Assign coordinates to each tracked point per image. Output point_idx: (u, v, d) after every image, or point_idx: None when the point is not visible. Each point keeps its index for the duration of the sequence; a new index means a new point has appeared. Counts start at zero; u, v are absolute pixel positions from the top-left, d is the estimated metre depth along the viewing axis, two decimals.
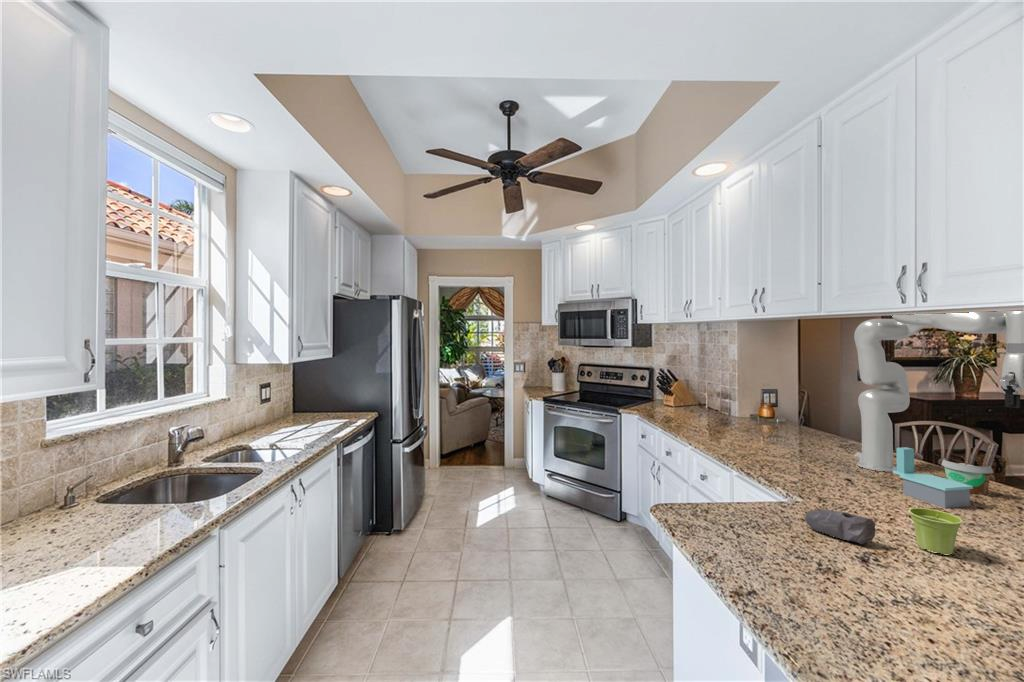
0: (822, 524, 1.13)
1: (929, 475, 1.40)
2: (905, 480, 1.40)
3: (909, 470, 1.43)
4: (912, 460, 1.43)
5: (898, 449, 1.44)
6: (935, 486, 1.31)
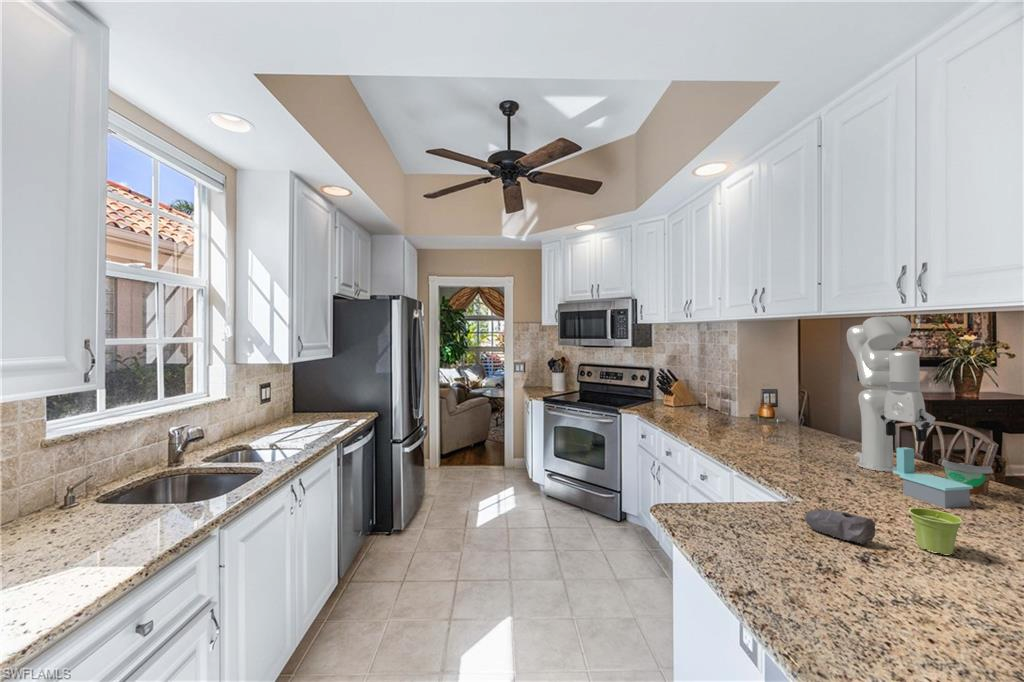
0: (822, 524, 1.13)
1: (929, 475, 1.40)
2: (905, 480, 1.40)
3: (909, 470, 1.43)
4: (912, 460, 1.43)
5: (898, 449, 1.44)
6: (935, 486, 1.31)
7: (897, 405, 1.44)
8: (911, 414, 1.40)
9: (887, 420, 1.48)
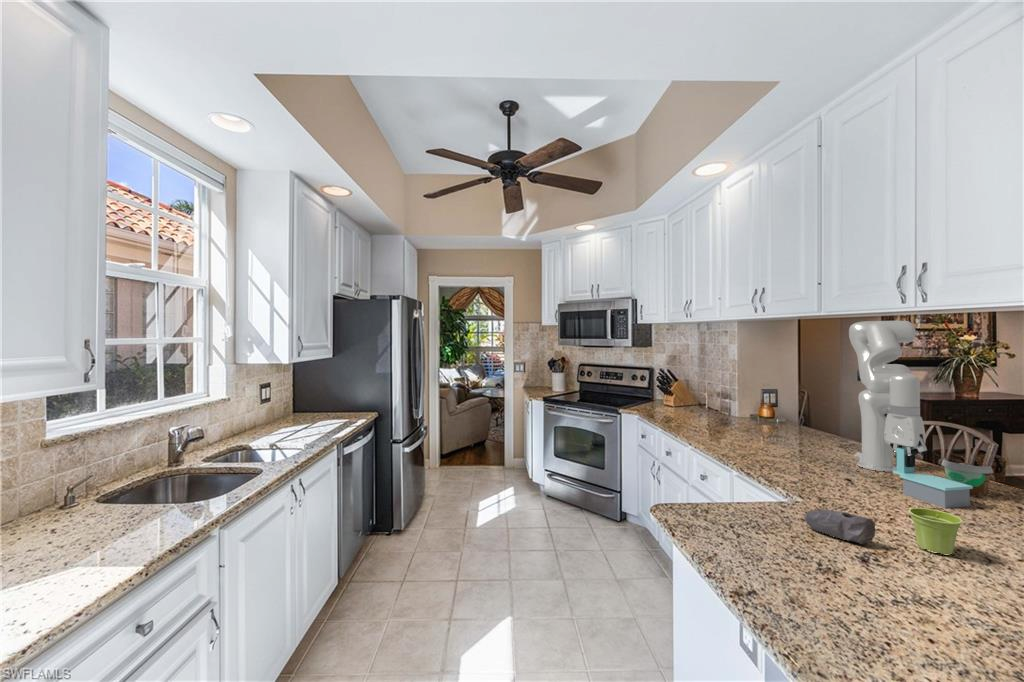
0: (822, 524, 1.13)
1: (929, 475, 1.40)
2: (905, 480, 1.40)
3: (909, 470, 1.43)
4: None
5: (898, 449, 1.44)
6: (935, 486, 1.31)
7: (897, 429, 1.44)
8: (911, 439, 1.40)
9: None
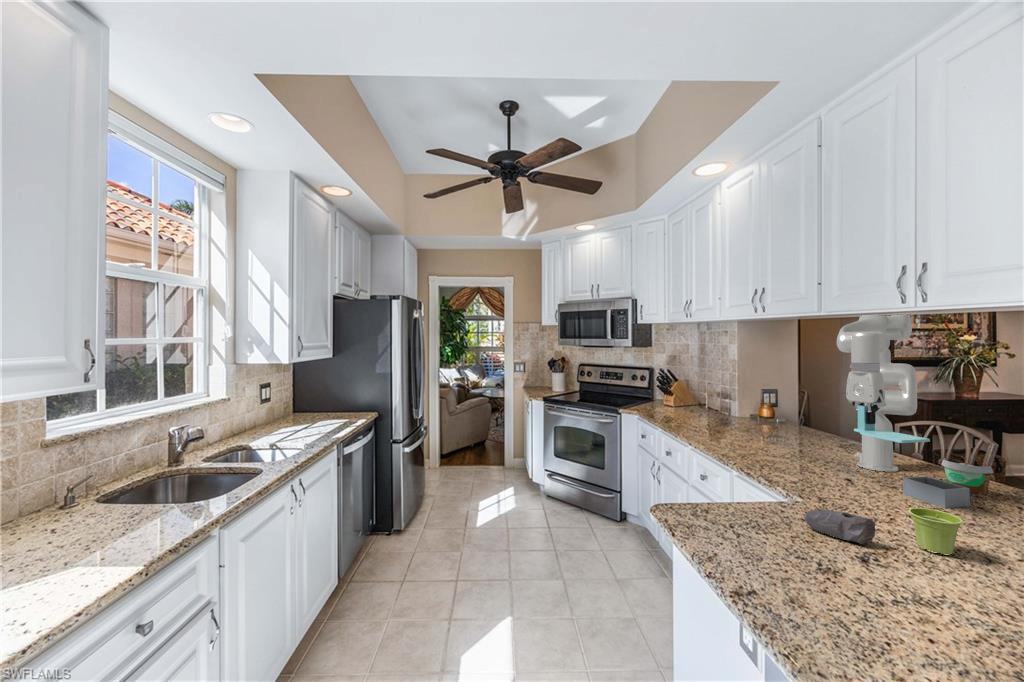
0: (822, 524, 1.13)
1: (889, 431, 1.39)
2: (905, 480, 1.40)
3: (870, 427, 1.42)
4: None
5: (859, 406, 1.43)
6: (892, 439, 1.30)
7: (858, 386, 1.43)
8: (870, 395, 1.39)
9: None
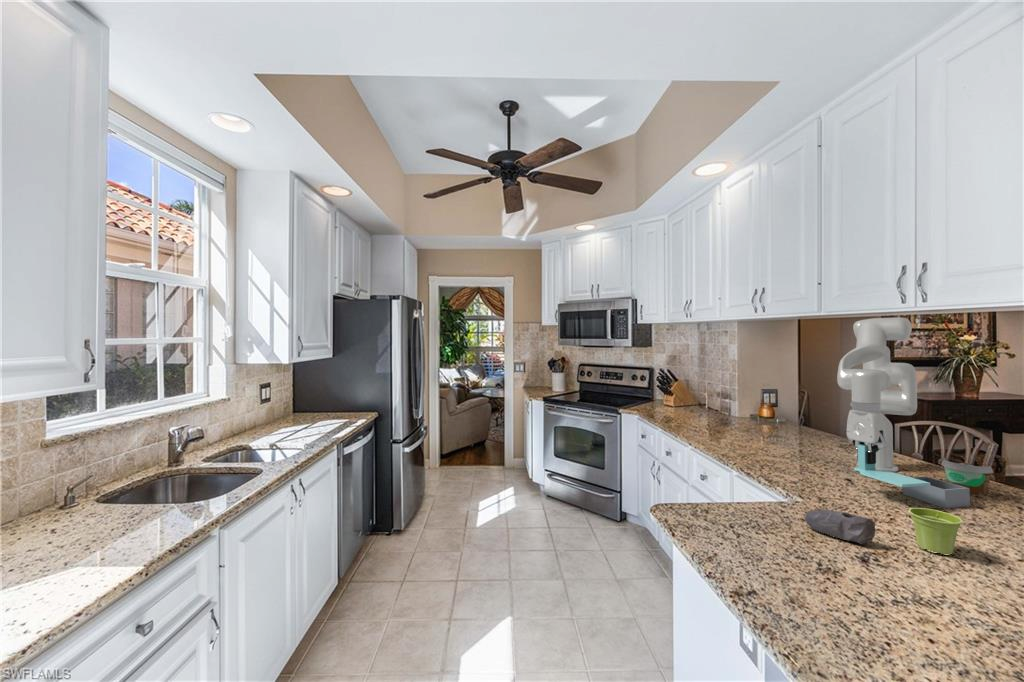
0: (822, 524, 1.13)
1: (889, 472, 1.39)
2: None
3: (870, 467, 1.42)
4: None
5: (859, 446, 1.43)
6: (892, 482, 1.30)
7: (858, 426, 1.43)
8: (871, 435, 1.39)
9: None
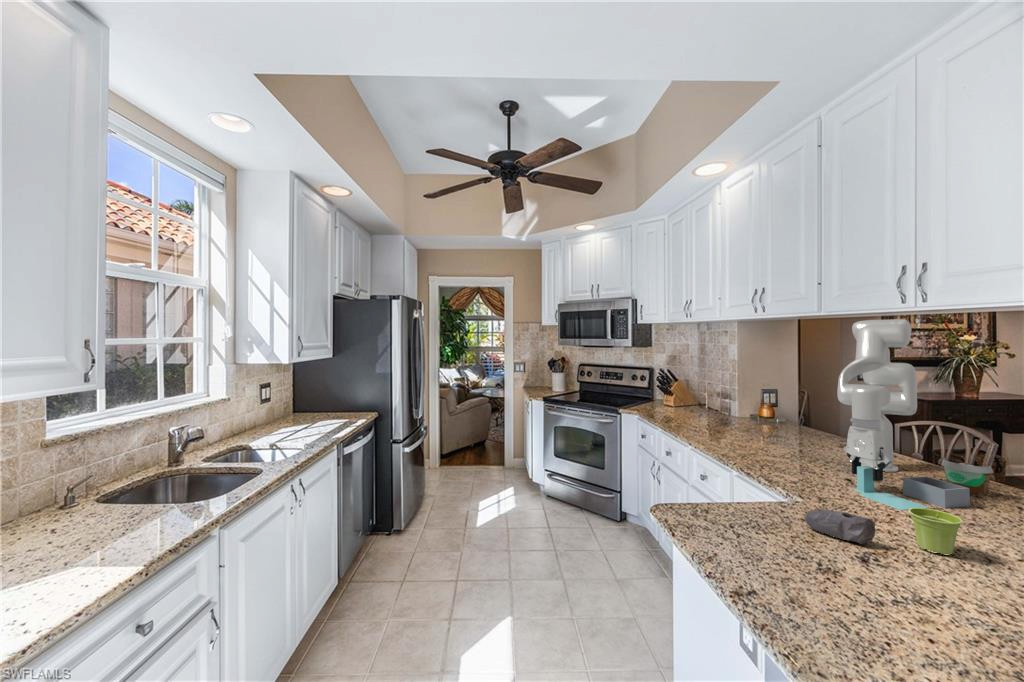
0: (822, 524, 1.13)
1: (888, 495, 1.40)
2: (905, 480, 1.40)
3: (869, 489, 1.42)
4: (872, 479, 1.43)
5: (858, 468, 1.44)
6: None
7: (858, 442, 1.43)
8: (871, 453, 1.39)
9: (853, 458, 1.46)
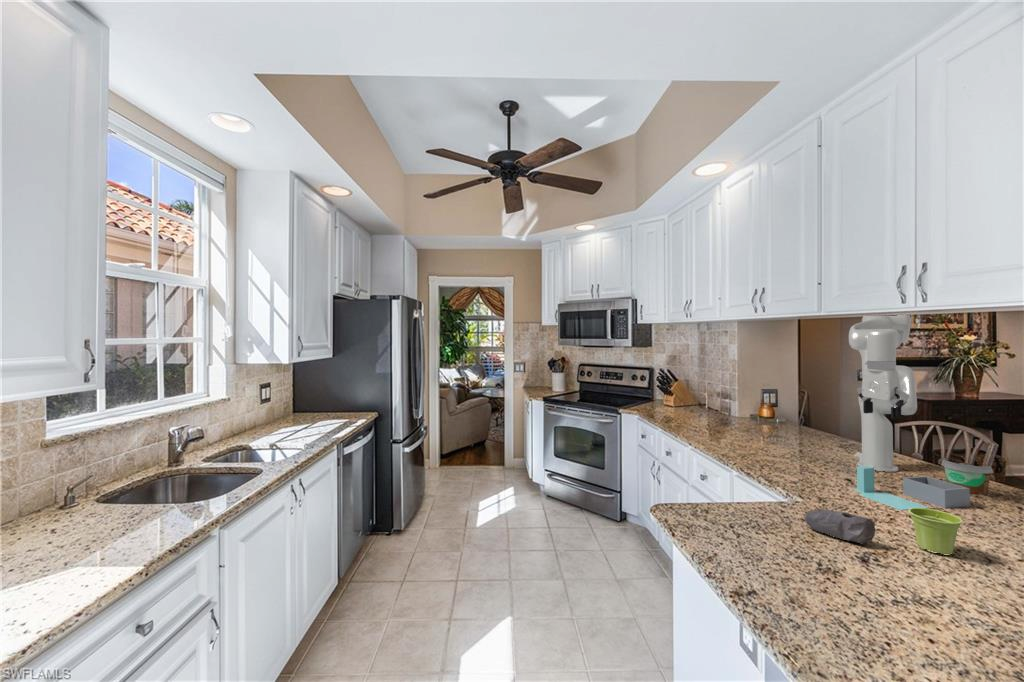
0: (822, 524, 1.13)
1: (888, 495, 1.40)
2: (905, 480, 1.40)
3: (869, 489, 1.42)
4: (872, 479, 1.43)
5: (858, 468, 1.44)
6: None
7: (873, 384, 1.46)
8: (886, 393, 1.42)
9: (864, 398, 1.51)
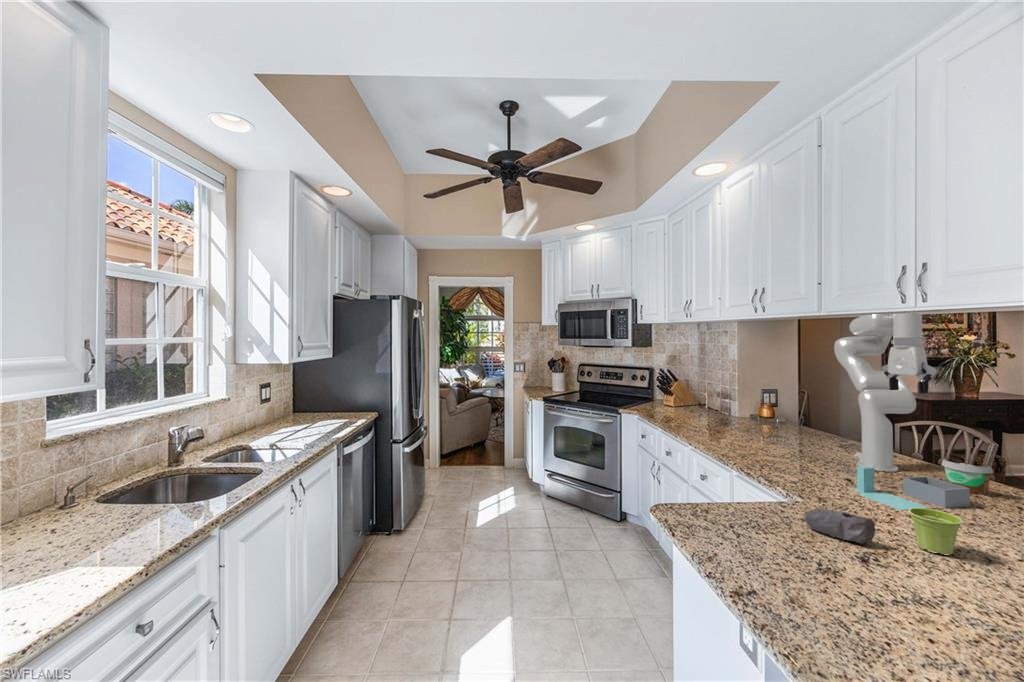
0: (822, 524, 1.13)
1: (888, 495, 1.40)
2: (905, 480, 1.40)
3: (869, 489, 1.42)
4: (872, 479, 1.43)
5: (858, 468, 1.44)
6: None
7: (900, 360, 1.50)
8: (913, 368, 1.46)
9: (890, 375, 1.55)
